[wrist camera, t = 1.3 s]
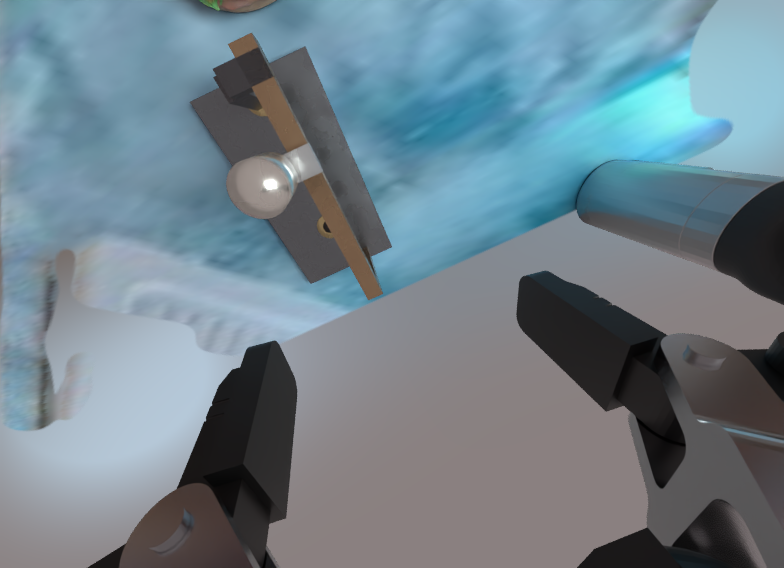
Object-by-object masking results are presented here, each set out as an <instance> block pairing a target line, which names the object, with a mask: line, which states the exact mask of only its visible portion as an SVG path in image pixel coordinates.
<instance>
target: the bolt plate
mask: <svg viewBox="0 0 784 568" xmlns="http://www.w3.org/2000/svg"><path fill="white" fill-rule="evenodd" d="M228 45H229V47H230V49H231V51H232V53H233V54H234V56H235V58H234V59H232V60H230V61H228V62H226V63H224V64H222V65H220V66H218V67H216V68H214V69H213V71H214V72H215V74H216V76H215V77H213V78H214V79H215V81H216V83H217V84H218V86H219V88H218V89H216V90H214V91H212V92H210V93H207V94H205V95H203V96H201V97H199V98H197V99H195V100H193V101H191V102H190V103H191V105H192V106H193V108H194V109H195V111H196V112H197V114H198V115H199V117H200V118H201V120H202V121H203V123H204V124H205V126H206V127H207V129H208V130H209V132H210V133H211V135H212V136H213V138H214V139H215V141H216V142H217V144H218V145H219V147H220V148H221V150H222V151H223V153H224V154H225V156H226V157H227V159H228V160H229V162H230V163H231V165H232V166H234V165H235V164H236V163H238V162H239V161H242V160H244V159H247V158H250V157H253V156H256V155H259V154H262V153H265V152H275V153H279V154H281V155H284V154H286V153H288V152H290V151H292V150H294V149H296V148H298V147H300V146H303V145H305V144H307V143H310V145H311V147H312V149H313V151H314V153H315V155H316V157H317V159H318V161H319V163H320V165H321V167H322V169H323V172H321V173H319V174H317V175H315V176H313V177H310V178H308V179H306V180H304V181H302V182H300V183H298V186H297V189H296V191H295V193H294V194H293V196H292V198H291V200H290V201H289V203H288V205H287V206H286V208H285V209H284V211H283V212H282V213H280V214H279V215H277V216H276V217H273V218H269V219H268V220H269V222H270V223H271V225H272V226H273V228H274V229H275V231H276V232H277V234H278V235H279V237H280V238H281V240H282V241H283V243H284V244H285V246H286V247H287V249H288V250H289V252H290V253H291V255H292V256H293V258H294V259H295V261H296V262H297V264H298V265H299V267H300V268H301V270H302V271H303V273H304V274H305V276H306V277H307V279H308V280H309V282H310V283H311V284H312V283H314V282H316V281H318V280H321V279H323V278H325V277H327V276H329V275H332V274H334V273H336V272H338V271H340V270H343V269H345V268H347V267H349V266H350V268H351V269H352V271H353V273H354V275H355V277H356V279H357V280H358V282H359V284H360V286H361V288H362V289H363V291H364V293H365V295H366V297H367V299H368V300H370V299H372V298H374V297H377V296H379V295H381V294H383V292H382V289H381V286H380V283H379V280H378V277H377V273H376V270H375V267H374V264H373V261H372V258H371V256H373V255H375V254H378V253H380V252H382V251H384V250H386V249H389V248H391V247H392V246H391V244H390V241H389V239H388V237H387V234H386V232H385V230H384V227H383V225H382V223H381V220H380V218H379V216H378V213H377V211H376V209H375V207H374V204H373V202H372V200H371V197H370V195H369V193H368V190H367V188H366V186H365V183H364V181H363V179H362V177H361V174H360V172H359V170H358V167H357V165H356V163H355V160H354V158H353V156H352V153H351V151H350V149H349V146H348V144H347V142H346V140H345V137H344V135H343V133H342V130H341V128H340V126H339V123H338V121H337V119H336V116H335V114H334V112H333V110H332V107H331V105H330V103H329V100H328V98H327V96H326V93H325V91H324V89H323V86H322V84H321V82H320V79H319V77H318V75H317V73H316V70H315V68H314V66H313V63H312V61H311V59H310V56H309V54H308V52H307V49H306V47H303V48H301V49H299V50H297V51H295V52H293V53H291V54H288V55H286V56H284V57H282V58H280V59H278V60H276V61H274V62H272V63H270V64H269V62H268V60H267V58H266V56H265V54H264V52H263V50H262V48H261V46H260V44H259V42H258V40H257V39H256V38H255V37H254V35H253V34H252V33H250V34H248V35H246V36H244V37H242V38H240V39H238V40H236V41H234V42H232V43H230V44H228Z"/></svg>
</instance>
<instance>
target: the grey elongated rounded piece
mask: <svg viewBox="0 0 784 568" xmlns="http://www.w3.org/2000/svg"><path fill="white" fill-rule="evenodd" d="M321 172H323V169H322V167H321V165H320V163H319V161H318V159H317V157H316V155H315V153H314V151H313V149H312V147H311V145H310V143H307V144H305V145H303V146H300V147H298V148H296V149H294V150H292V151H290V152H288V153H286V154H284V155H281V154H279V153H275V152H265V153H262V154H259V155H256V156H253V157H250V158H247V159H244V160H242V161H239V162H238V163H236V164H235V165H234V166H233V167H232V168H231V169H230V171H229V173H228V175H227V181H226V186H227V191H228V194H229V197H230V199H231V200H232V202H233V203H234V205H235V206H236V207H237V208H238V209H239V210H241V211H242V212H243V213H245V214H247V215H249V216H251V217H254V218H258V219H269V218H273V217H276V216H277V215H279V214H280V213H282V212H283V211H284V209H285V208H286V206H287V205H288V203H289V201H290V200H291V198H292V196H293V194H294V193H295V191H296V189H297V186H298V183H300V182H302V181H304V180H306V179H308V178H310V177H313V176H315V175H317V174H319V173H321Z"/></svg>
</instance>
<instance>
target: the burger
mask: <svg viewBox="0 0 784 568" xmlns="http://www.w3.org/2000/svg"><path fill="white" fill-rule="evenodd" d="M199 1H201V2H202V3H203V4H205V5H206V6H209V7H212V8H214V9H215V10H217V11H219V10H220V9H221V10H224V11H230V12H236V13H238V12H250V11H253V10H257V9H261V8H263V7H265V6H267V5H269V4H270V3H272V2H274V1H276V0H199Z"/></svg>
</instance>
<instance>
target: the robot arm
mask: <svg viewBox="0 0 784 568" xmlns="http://www.w3.org/2000/svg"><path fill="white" fill-rule="evenodd" d="M577 213H578V215H579V218H580V219H581V220H582V221H583V222H585V223H587V224H590V225H593V226H595V227H598V228H601V229H603V230H606V231H609V232H611V233H614V234H617V235H620V236H622V237H625V238H628V239H631V240H633V241H636V242H639V243H642V244H644V245H647V246H650V247H652V248H655V249H658V250H661V251H663V252H666V253H669V254H672V255H674V256H677V257H680V258H683V259H685V260H688V261H691V262H694V263H697V264H699V265H702V266H705V267H708V268H711V269H713V270H716V271H718V272H721V273H724V274H726V275H729V276H732V277H734V278H736V279H738V280H739V281H740V282H741V283H743V284H744V285H745V286H746V287H747V288H749V289H750V290H752V291H754V292H755V293H757V294H759V295H761V296H764V297H766V298H769V299H771V300H773V301H776V302H778V303H780V304H783V305H784V177H779V176H769V175H759V174H748V173H739V172H729V171H720V170H714V169H712V168H709V167H699V166H689V165H679V164H669V163H659V162H649V161H639V160H634V161H626V160H613V161H609V162H607V163H605V164H603V165H601V166H600V167H598V168H597V169H596V170H595V171H594V172H593V173H592V174H591V175H590V176H589V177H588V178H587V179H586V181H585V183H584V184H583V186H582V188H581V190H580V192H579V195H578V199H577ZM517 321H518V324H519V326H520V328H521V329H522V330H523V332H525V334H526V335H527V336H528V337H529V338H531V339H532V340H533V341H534V342H535V343H536V344H537V345H538V346H539V347H540V348H541V349H542V350H543V351H544V352H545V353H546V354H547V355H548V356H549V357H550V358H551V359H552V360H553V361H554V362H555V363H556V364H557V365H559V366H560V368H562V369H563V370H564V371H565V372H566V373H567V374H568V375H569V376H570V377H571V378H572V379H573V380H574V381H575V382H576V383H577V384H578V385H579V386H580V387H581V388H583V390H584V391H585V392H586V393H587V394H588V395H589V396H590V397H591V398H593V399H594V400H595V401H596V402H597V403H598V404H599V405H600V406H601V407H602V408H603V409H604V410H605V411H609V410H612V409H615V408H618V407H621V406H625V407H626V408H627V409H628V410H629V411H630V413H629V415H628V422H629V426H630V430H631V433H632V437H633V441H634V445H635V448H636V452H637V456H638V460H639V463H640V467H641V471H642V475H643V478H644V482H645V485H646V489H647V494H648V511H647V528H645V529H643V530H640V531H638V532H635V533H633V534H631V535H628V536H625V537H623V538H621V539H618V540H616V541H613V542H611V543H608V544H606V545H603V546H601V547H598V548H596V549H594V550H593V551H592V552H591V554H589V556H588V557H587V558H586V559H585V560H584V561H583V562H582V563H581V564H580V565H579V566H578V567H577V568H784V332H782V333H780V334H779V335H778V336H777V338H776V339H775V340H774V342H773V343H772V345H771V346H770V347H769V349H759V350H757V349H755V350H736V349H734V348H732V347H731V346H729V345H726V344H724V343H722V342H719V341H717V340H714V339H711V338H708V337H703V336H700V335H694V334H685V333H684V334H683V333H682V334H681V333H680V334H679V333H678V334H671V335H666V334H664V333H663V332H660V331H659V330H657V329H656V328H654V327H652V326H650V325H649V324H647V323H645V322H643V321H642V320H640V319H638V318H637V317H635V316H633V315H631V314H630V313H628V312H626V311H624V310H623V309H621V308H619V307H617V306H615V305H612V304H611V303H610V302H609V301H607V300H605V299H603V298H599V296H598V295H597V294H595V293H593V292H591V291H589V290H588V289H586V288H584V287H582V286H579V285H576V284H573V283H569V282H566V281H564V280H562V279H561V278H559V277H557V276H556V275H554V274H552V273H550V272H549V271H542V272H538V273H534V274H530V275H526V276H523V277H522V278H521V279H520V282H519V292H518V302H517ZM296 402H297V386H296V381H295V378H294V375H293V373H292V371H291V369H290V366H289V364H288V362H287V360H286V358H285V356H284V354H283V352H282V350H281V348H280V346H279V344H278V342H277V341H271V342H267V343H263V344H259V345H256V346H252V347H249V348H247V350H246V352H245V355H244V358H243V361H242V364H241V367H240V368H236V369H233V370H231V372H230V373H229V374H228V375H227V377H226V378H225V379H224V380H223V381H222V383H221V384H220V385H219V387H218V389H217V392H216V394H215V397H214V399H213V401H212V406H211V407H210V409H209V411H208V414H207V416H206V422H204V424H203V426H202V429H201V431H200V434H199V436H198V438H197V441H196V443H195V446H194V448H193V451H192V453H191V455H190V458H189V461H188V463H187V465H186V468H185V470H184V473H183V475H182V478H181V480H180V482H179V485H178V487H177V489H176V490H175V491H173V492H171V493H170V494H168V495H167V496H165V497H164V498H163V499H161V500H160V501H159V502H158V503H157V504H156V505H155V506H153V507H152V508H151V509H150V510H149V511H148V513H147V514H146V515H145V516H144V517H143V518H142V519H141V521H140V522H139V523H138V525H137V526H136V528H135V529H134V531H133V532H132V534H131V535H130V537H129V539H128V541H127V543H126V544H125V545H123V546H121V547H120V548H118V549H117V550H115V551H113V552H112V553H110V554H109V555H107V556H105V557H104V558H102V559H101V560H99V561H97V562H96V563H94V564H93V565H91V566H89V567H88V568H280V567H279V565H278V563H277V561H276V560H275V558H274V557H273V555H272V553H271V551H270V550H269V548H268V547H267V546H266V543H267V535H268V529H269V524H270V523H273V522H276V521H279V520H282V519H285V518H286V512H287V501H288V491H289V480H290V469H291V458H292V446H293V434H294V425H295V414H296Z"/></svg>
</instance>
